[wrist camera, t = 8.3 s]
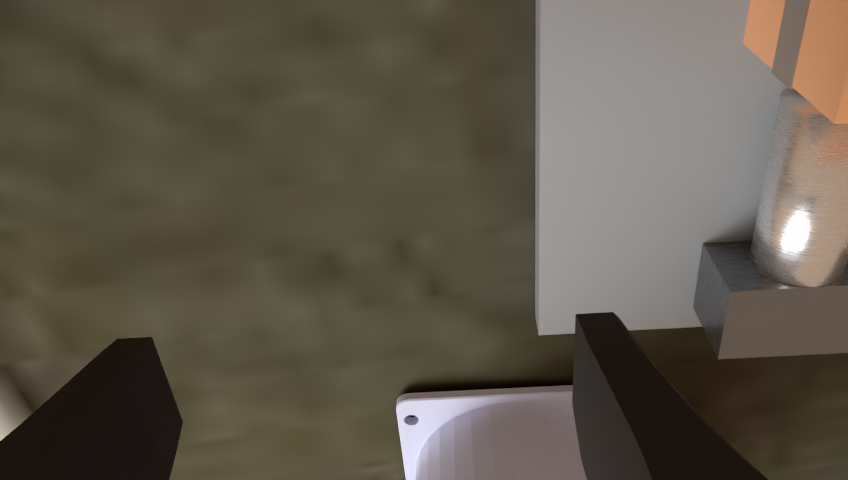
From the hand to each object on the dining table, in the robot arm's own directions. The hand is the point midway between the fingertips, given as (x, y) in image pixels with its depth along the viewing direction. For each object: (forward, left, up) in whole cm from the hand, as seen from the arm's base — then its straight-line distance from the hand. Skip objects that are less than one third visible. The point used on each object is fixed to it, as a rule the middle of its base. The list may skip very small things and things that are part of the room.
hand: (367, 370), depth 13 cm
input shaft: (-2, -11, -10) cm, 15 cm away
